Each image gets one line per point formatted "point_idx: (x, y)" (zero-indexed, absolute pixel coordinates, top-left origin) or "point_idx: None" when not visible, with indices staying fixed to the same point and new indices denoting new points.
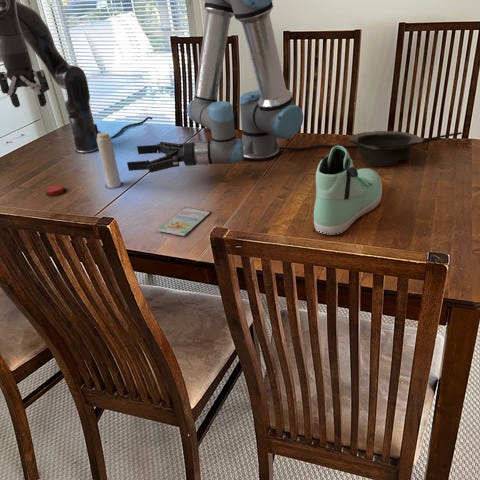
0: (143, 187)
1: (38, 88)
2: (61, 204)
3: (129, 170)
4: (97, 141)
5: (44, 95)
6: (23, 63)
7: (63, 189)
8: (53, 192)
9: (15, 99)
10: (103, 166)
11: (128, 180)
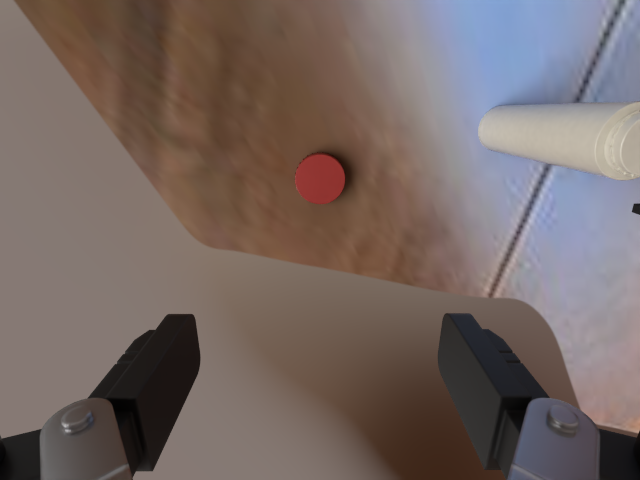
0: None
1: (530, 469)
2: (371, 252)
3: (635, 212)
4: (594, 169)
5: (539, 392)
6: None
7: (344, 173)
8: (325, 202)
9: (172, 408)
10: (522, 155)
11: (544, 88)
